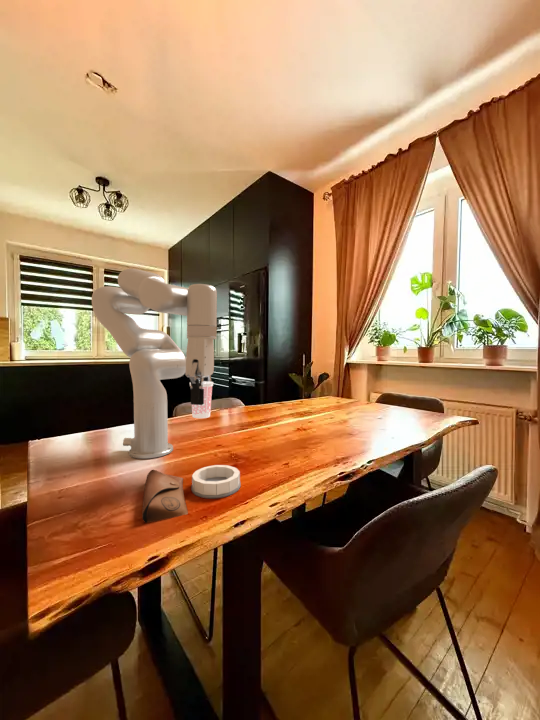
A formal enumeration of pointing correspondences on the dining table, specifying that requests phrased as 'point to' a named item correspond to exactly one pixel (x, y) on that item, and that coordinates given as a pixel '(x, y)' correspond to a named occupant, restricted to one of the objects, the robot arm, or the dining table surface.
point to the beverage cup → (204, 409)
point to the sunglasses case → (163, 497)
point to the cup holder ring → (216, 481)
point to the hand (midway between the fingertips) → (201, 401)
